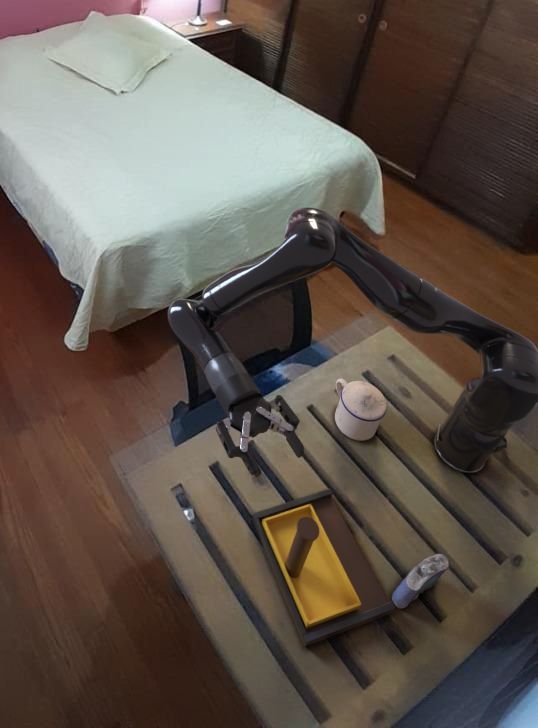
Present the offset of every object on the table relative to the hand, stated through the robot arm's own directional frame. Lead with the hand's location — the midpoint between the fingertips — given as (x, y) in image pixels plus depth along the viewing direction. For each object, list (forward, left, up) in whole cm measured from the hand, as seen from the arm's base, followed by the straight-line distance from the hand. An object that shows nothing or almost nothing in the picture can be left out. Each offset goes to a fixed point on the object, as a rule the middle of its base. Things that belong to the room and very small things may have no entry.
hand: (280, 465), depth 92 cm
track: (-5, +9, -21) cm, 23 cm away
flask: (-19, +17, -21) cm, 33 cm away
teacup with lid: (-27, -14, -21) cm, 37 cm away
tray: (-3, +9, -20) cm, 22 cm away
